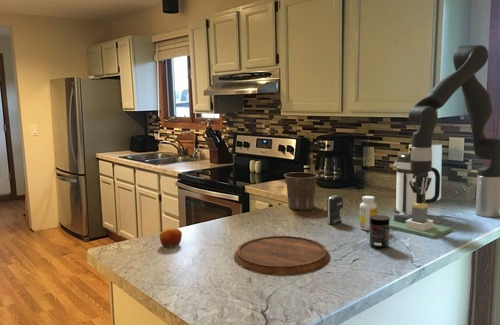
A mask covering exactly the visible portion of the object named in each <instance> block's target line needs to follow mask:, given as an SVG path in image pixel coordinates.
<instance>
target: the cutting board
mask: <svg viewBox="0 0 500 325" xmlns="http://www.w3.org/2000/svg"><path fill="white" fill-rule="evenodd" d="M234 259H235V260H234ZM330 259H331V255H330V252H329V251H328V250H327V248H326V246H324V244H322V243H321V242H318V241H317V240H314V239H311V238H306V237H301V236H296V235H295V236H293V235H271V236H270V235H269V236H263V237H258V238H253V239H250V240H247V241H245V242H243V243H242V244H240V245H239V246H238V248H237V249H236V250H235V252H234V254H233V260H234V262H235V261H236V262H237V263H238V264H239V265H241V266H243V267H244V268H243V267H242V268H243V269H245V268H246V269H245V270H247V269H249V270H248V271H250V270H252V271H251V272H254V271H255V272H254V273H258V272H259V274H263V273H264V275H265V274H266V275H272V274H276V275H277V276H280V275H281V276H288V275H289V276H291V275H299V274H305V273H310V272H314V271H317V270H319V269H322V268H323V267H324V266H326V265H328V263H329V262H330ZM236 262H235V263H236ZM237 263H236V264H237ZM238 264H237V265H238ZM239 265H238V266H239ZM241 266H240V267H241Z"/></svg>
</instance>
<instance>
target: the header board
mask: <svg viewBox="0 0 500 325" xmlns="http://www.w3.org/2000/svg"><path fill="white" fill-rule="evenodd" d="M393 218H394V219H393ZM393 218H392V219H390V223H389V230H390V229H392V230H395V231H400V232H404V233H408V234H412V235H416V236H420V237H424V238H425V237H426V238H430V239H436V238H438V237H441V236H443V235H445V234H447V233H449V232H452V230H453V227H451V226H445V225H440V224H437V223H436V224H435V223H434V220H433V219H428V218H427V222H425V223H418V222H414V221H412V214H410V213H406V212H399V213H396V214H394V216H393Z"/></svg>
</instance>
